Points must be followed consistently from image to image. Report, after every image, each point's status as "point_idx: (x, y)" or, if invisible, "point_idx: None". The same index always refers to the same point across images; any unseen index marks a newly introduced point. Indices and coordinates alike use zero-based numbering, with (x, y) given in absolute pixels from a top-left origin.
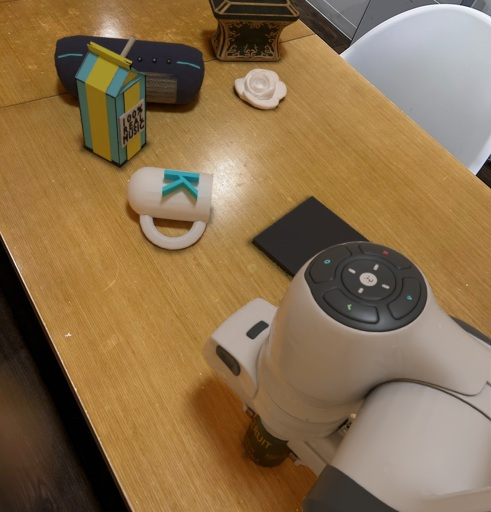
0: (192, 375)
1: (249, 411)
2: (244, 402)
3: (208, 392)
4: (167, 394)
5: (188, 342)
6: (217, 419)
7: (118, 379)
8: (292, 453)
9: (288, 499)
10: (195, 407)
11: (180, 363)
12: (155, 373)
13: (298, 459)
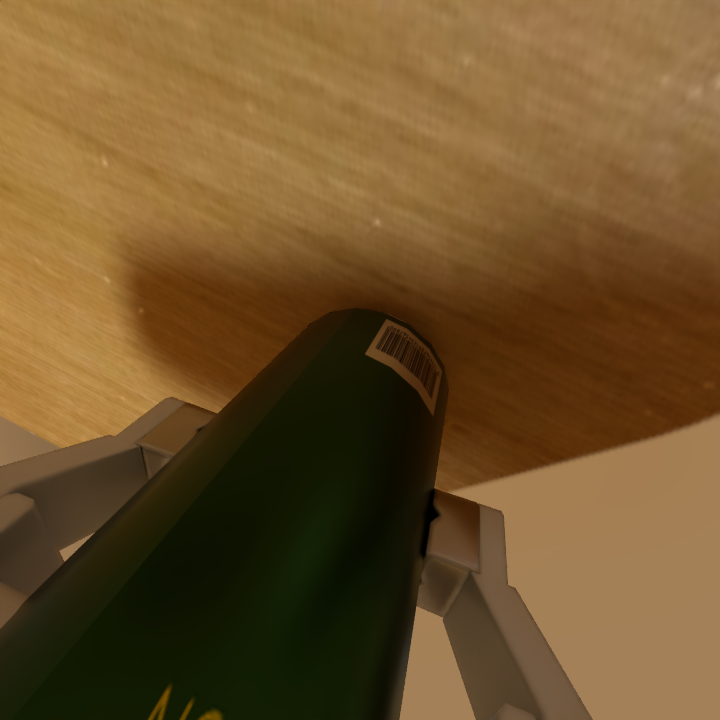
0: (101, 297)
1: None
2: (95, 529)
3: (160, 315)
4: (114, 370)
5: (10, 214)
6: (229, 365)
7: (42, 389)
8: (417, 603)
9: (509, 459)
10: (173, 365)
11: (59, 286)
12: (59, 341)
13: (453, 648)
